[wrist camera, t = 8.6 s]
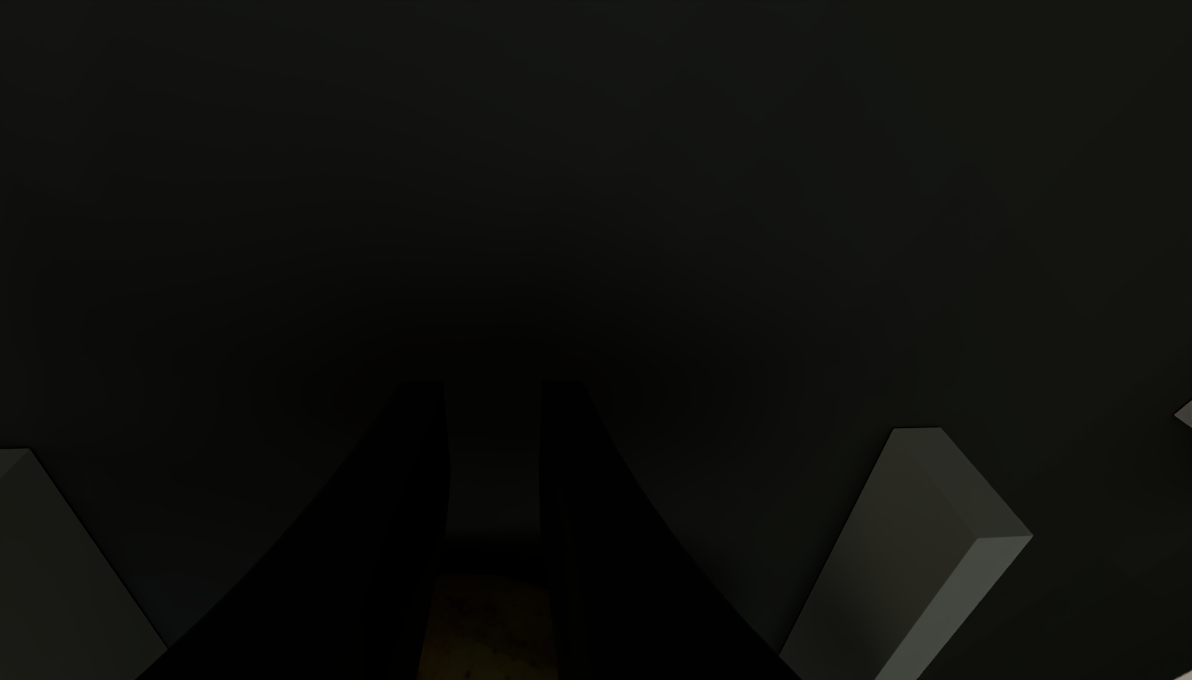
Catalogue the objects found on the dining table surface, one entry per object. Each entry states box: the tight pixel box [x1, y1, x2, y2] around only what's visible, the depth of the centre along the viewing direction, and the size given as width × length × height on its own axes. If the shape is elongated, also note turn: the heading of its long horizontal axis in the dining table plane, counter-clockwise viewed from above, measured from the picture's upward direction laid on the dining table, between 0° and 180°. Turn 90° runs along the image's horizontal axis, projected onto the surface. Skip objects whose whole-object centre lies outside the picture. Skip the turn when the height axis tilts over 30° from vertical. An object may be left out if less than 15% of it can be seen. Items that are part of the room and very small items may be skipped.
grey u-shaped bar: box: [0, 427, 1033, 680], centre depth 15 cm, size 20×14×3 cm
